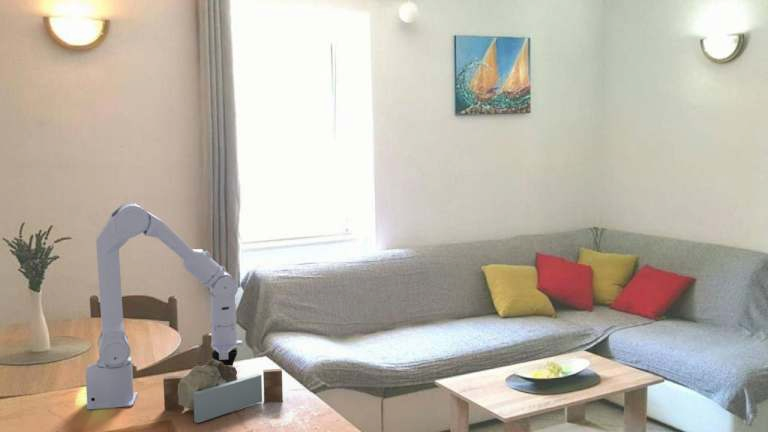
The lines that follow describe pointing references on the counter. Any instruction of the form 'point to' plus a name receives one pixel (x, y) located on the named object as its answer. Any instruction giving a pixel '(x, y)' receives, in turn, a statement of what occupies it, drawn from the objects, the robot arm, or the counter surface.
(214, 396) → the door
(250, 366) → the counter surface
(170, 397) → the door frame
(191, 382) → the stone
